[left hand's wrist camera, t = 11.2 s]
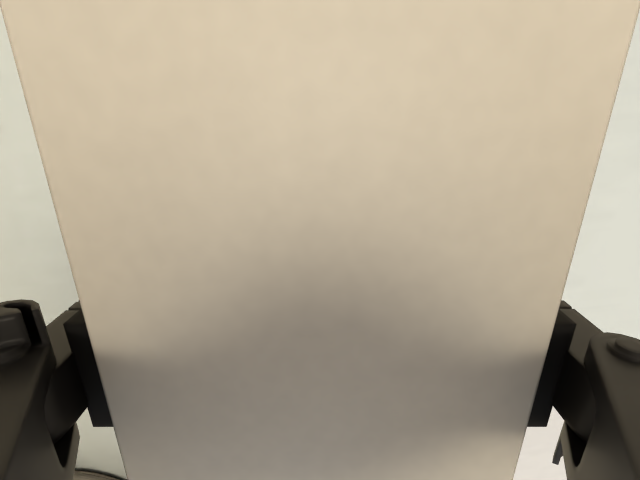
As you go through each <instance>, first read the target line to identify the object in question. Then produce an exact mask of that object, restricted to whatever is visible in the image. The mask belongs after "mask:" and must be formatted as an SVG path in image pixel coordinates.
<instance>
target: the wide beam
mask: <svg viewBox="0 0 640 480" xmlns="http://www.w3.org/2000/svg"><path fill="white" fill-rule="evenodd" d="M0 7H1V11H2V14H3V18H4V22H5V25H6V29H7V33H8V37H9V40H10V44H11V48H12V51H13V55H14V59H15V63H16V66H17V70H18V74H19V77H20V81H21V85H22V89H23V92H24V96H25V100H26V103H27V107H28V111H29V115H30V118H31V122H32V126H33V129H34V133H35V137H36V141H37V144H38V148H39V152H40V155H41V159H42V163H43V167H44V170H45V174H46V178H47V181H48V185H49V189H50V193H51V196H52V200H53V204H54V207H55V211H56V215H57V219H58V222H59V226H60V230H61V233H62V237H63V241H64V245H65V248H66V252H67V256H68V259H69V263H70V267H71V271H72V274H73V278H74V282H75V285H76V289H77V293H78V297H79V300H80V304H81V308H82V311H83V315H84V319H85V323H86V326H87V330H88V334H89V337H90V341H91V345H92V349H93V352H94V356H95V360H96V363H97V367H98V371H99V375H100V378H101V382H102V386H103V389H104V393H105V397H106V401H107V404H108V408H109V412H110V415H111V419H112V423H113V427H114V430H115V434H116V438H117V441H118V445H119V449H120V453H121V456H122V460H123V464H124V467H125V471H126V475H127V479H128V480H513V477H514V473H515V469H516V465H517V462H518V458H519V454H520V451H521V447H522V443H523V439H524V436H525V432H526V428H527V425H528V421H529V417H530V413H531V410H532V406H533V402H534V399H535V395H536V391H537V387H538V384H539V380H540V376H541V373H542V369H543V365H544V362H545V358H546V354H547V350H548V347H549V343H550V339H551V336H552V332H553V328H554V324H555V321H556V317H557V313H558V310H559V306H560V302H561V298H562V295H563V291H564V287H565V284H566V280H567V276H568V272H569V269H570V265H571V261H572V258H573V254H574V250H575V247H576V243H577V239H578V235H579V232H580V228H581V224H582V221H583V217H584V213H585V209H586V206H587V202H588V198H589V195H590V191H591V187H592V183H593V180H594V176H595V172H596V169H597V165H598V161H599V157H600V154H601V150H602V146H603V143H604V139H605V135H606V132H607V128H608V124H609V120H610V117H611V113H612V109H613V106H614V102H615V98H616V94H617V91H618V87H619V83H620V80H621V76H622V72H623V68H624V65H625V61H626V57H627V54H628V50H629V46H630V42H631V39H632V35H633V31H634V28H635V24H636V20H637V17H638V13H639V9H640V0H0Z"/></svg>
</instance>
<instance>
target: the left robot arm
mask: <svg viewBox="0 0 640 480" xmlns="http://www.w3.org/2000/svg"><path fill="white" fill-rule="evenodd" d="M552 406H554V408H555V409H556V410H557V411H558V413H559V414H560V415H561V417H562V418H563V419H564V424H563V427H562V430H561V433H560V436H559V440H558V443H557V446H556V449H555V452H554V456H553V462H552V463H554V464H557V465H558V464H559V461H560V458H561V457H562V456H563V457H564V463H565V469H566V475H567V480H640V340H639V339H636V338H633V337H629V336H626V335H622V334H616V333H608V332H607V333H603V332H602V331H601V330H600V329H598V328H597V327H596V326H595V325H593V324H592V323H591V322H590V321H588V320H587V319H586V318H585V317H583V316H582V315H581V314H580V313H579V312H577V311H576V310H575V309H572V308H571V306H570V305H569V304H567V303H566V302H565V301H561V302H560V306H559V310H558V313H557V317H556V321H555V324H554V328H553V332H552V336H551V339H550V343H549V347H548V350H547V354H546V358H545V362H544V365H543V369H542V373H541V376H540V380H539V384H538V387H537V391H536V395H535V399H534V402H533V406H532V410H531V413H530V417H529V421H528V425H527V427H547V423H548V420H549V416H550V413H551V410H552ZM87 407H88V411H89V414H90V418H91V421H92V424H93V427H113V423H112V419H111V415H110V412H109V408H108V404H107V401H106V397H105V393H104V389H103V386H102V382H101V378H100V375H99V371H98V367H97V363H96V360H95V356H94V352H93V349H92V345H91V341H90V337H89V334H88V330H87V326H86V323H85V319H84V315H83V311H82V308H81V304H80V300H79V302H76V303H75V304H73V305H72V306H71V307H70V308H69V310H66V311H65V312H63V313H62V314H61V315H60V316H59V317H57V318H56V319H55V320H54V321H52V322H51V323H50V324H49V325H47V326H46V325H45V322H44V319H43V316H42V313H41V309H40V306H39V304H38V303H37V302H35V301H33V300H13V301H6V302H2V303H0V480H118V479H115V478H113V477H109V476H106V475H102V474H97V473H92V472H85V471H74V470H75V464H76V458H77V452H78V445H79V439H80V436H79V430H78V427H77V424H76V421H77V420H78V418H79V417H80V416H81V414H82V413H83V412H84V411H85V409H86V408H87Z"/></svg>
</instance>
